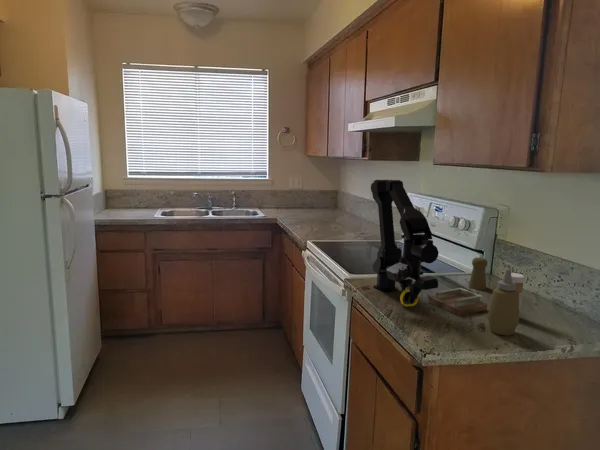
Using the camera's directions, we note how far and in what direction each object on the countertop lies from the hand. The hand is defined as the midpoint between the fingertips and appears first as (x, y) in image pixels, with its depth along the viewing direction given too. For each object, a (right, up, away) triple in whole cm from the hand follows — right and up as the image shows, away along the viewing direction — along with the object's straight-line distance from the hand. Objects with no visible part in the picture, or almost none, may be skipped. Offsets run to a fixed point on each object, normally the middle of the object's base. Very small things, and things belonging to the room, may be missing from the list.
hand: (409, 302), depth 144 cm
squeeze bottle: (+21, -5, -19) cm, 29 cm away
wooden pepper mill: (+30, +2, +20) cm, 36 cm away
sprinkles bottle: (+29, -3, -8) cm, 30 cm away
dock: (+16, -1, +1) cm, 16 cm away
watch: (0, -1, 0) cm, 1 cm away
